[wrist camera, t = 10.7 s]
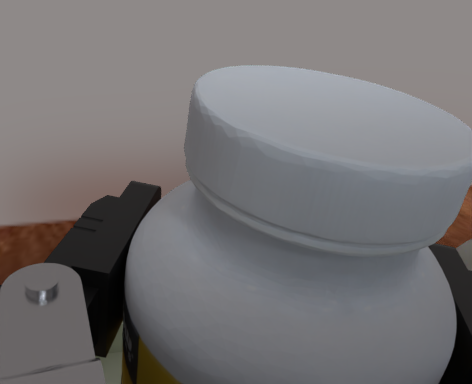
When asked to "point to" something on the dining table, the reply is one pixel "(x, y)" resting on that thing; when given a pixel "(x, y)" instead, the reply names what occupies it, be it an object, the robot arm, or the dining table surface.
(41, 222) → the dining table surface
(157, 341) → the pill bottle
